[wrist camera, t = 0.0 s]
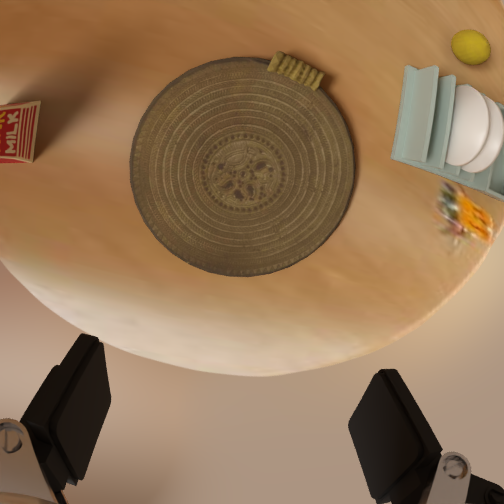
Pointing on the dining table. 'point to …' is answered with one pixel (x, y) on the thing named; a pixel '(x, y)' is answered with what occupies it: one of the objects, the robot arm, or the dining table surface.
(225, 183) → the decorative disc
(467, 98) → the dish rack
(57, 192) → the dining table surface
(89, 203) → the dining table surface
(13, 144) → the milk carton
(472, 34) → the lemon
